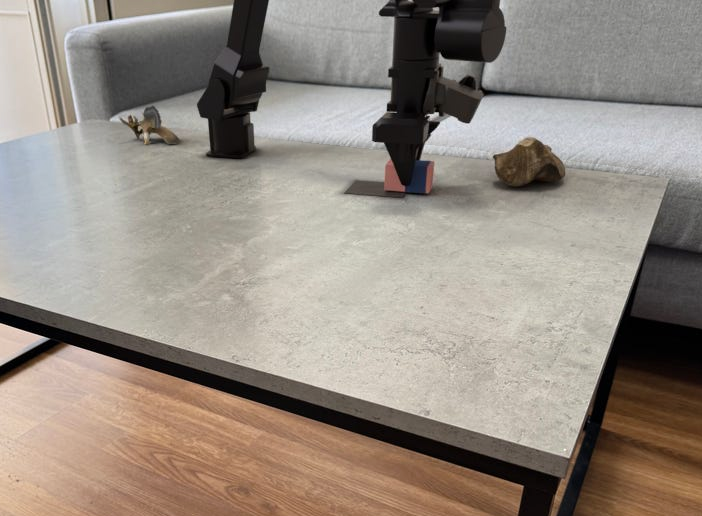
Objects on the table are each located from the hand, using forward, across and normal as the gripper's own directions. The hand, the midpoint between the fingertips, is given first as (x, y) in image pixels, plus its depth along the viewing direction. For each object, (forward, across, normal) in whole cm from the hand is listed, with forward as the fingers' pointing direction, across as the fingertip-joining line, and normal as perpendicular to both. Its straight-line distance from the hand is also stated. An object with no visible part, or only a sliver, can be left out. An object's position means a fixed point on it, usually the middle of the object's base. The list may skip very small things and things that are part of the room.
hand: (408, 181), depth 94 cm
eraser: (+1, 0, 0) cm, 1 cm away
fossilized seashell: (+2, +8, -15) cm, 17 cm away
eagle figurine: (+1, +17, +49) cm, 52 cm away
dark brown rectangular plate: (+1, 0, +4) cm, 4 cm away
